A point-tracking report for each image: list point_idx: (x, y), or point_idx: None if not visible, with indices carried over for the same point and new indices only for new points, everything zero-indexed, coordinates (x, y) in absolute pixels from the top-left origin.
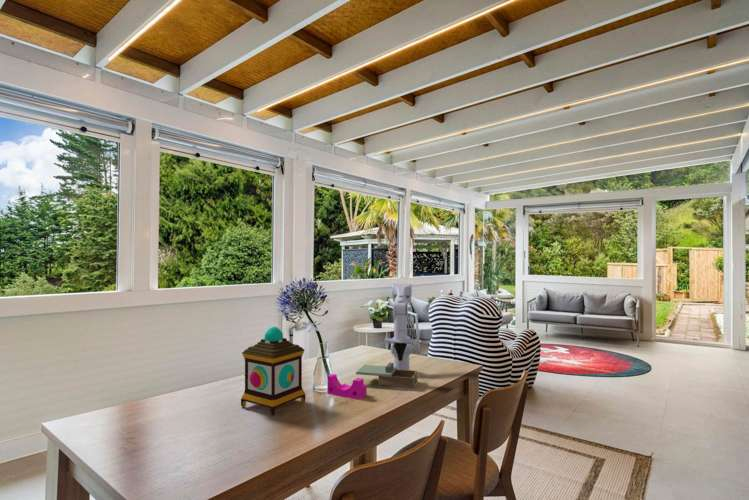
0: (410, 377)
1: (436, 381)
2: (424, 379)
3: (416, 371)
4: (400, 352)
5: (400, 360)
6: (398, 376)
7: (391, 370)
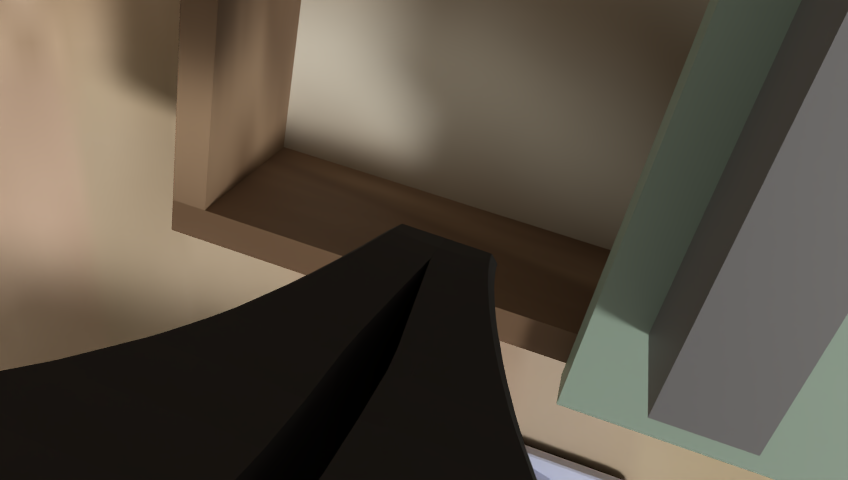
0: (342, 188)
1: (28, 167)
2: (183, 264)
3: (183, 194)
4: (306, 372)
5: (429, 234)
6: (550, 255)
7: (741, 134)
